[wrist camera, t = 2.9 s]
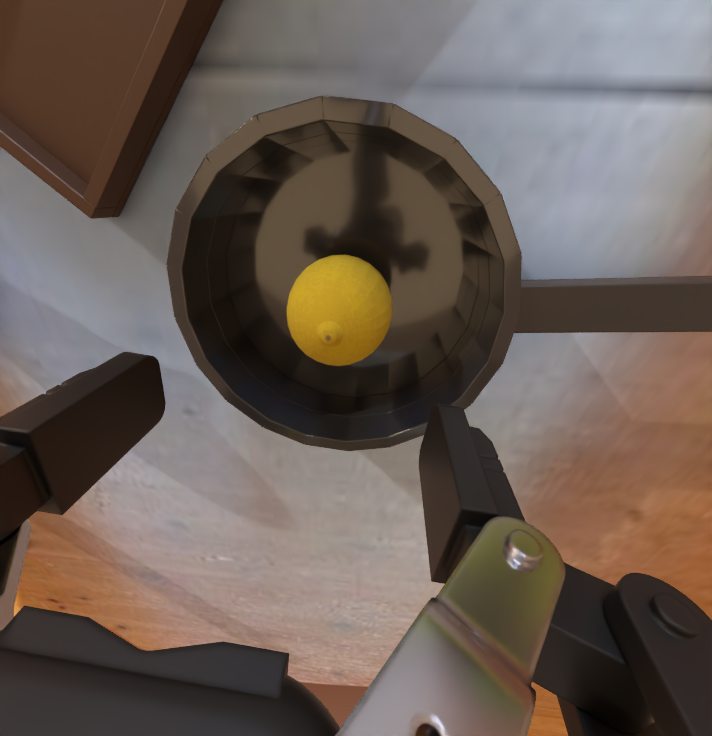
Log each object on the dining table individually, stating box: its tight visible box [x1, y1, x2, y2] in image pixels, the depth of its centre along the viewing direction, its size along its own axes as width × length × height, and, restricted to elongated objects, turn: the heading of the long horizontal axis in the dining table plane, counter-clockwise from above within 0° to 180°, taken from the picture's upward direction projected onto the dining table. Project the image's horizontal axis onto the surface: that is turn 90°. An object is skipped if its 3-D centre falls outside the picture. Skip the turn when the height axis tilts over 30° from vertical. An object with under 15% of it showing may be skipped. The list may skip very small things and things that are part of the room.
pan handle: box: [514, 276, 712, 333], centre depth 16 cm, size 11×2×1 cm, turn 92°
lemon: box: [287, 255, 393, 366], centre depth 18 cm, size 6×6×8 cm
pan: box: [167, 95, 522, 451], centre depth 19 cm, size 18×18×6 cm
